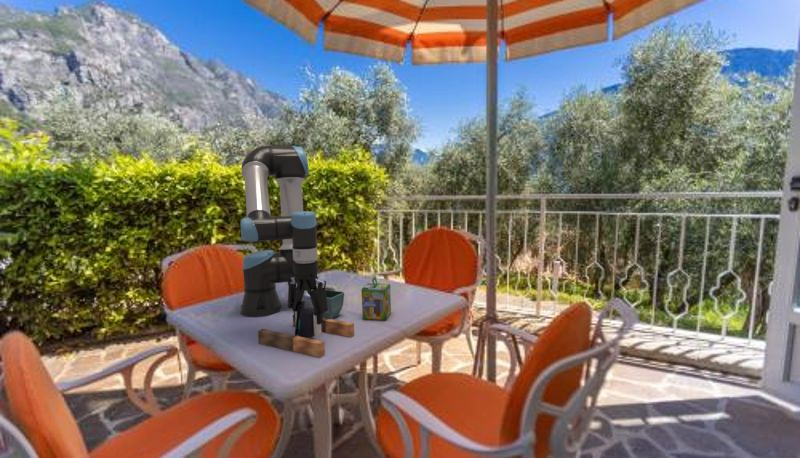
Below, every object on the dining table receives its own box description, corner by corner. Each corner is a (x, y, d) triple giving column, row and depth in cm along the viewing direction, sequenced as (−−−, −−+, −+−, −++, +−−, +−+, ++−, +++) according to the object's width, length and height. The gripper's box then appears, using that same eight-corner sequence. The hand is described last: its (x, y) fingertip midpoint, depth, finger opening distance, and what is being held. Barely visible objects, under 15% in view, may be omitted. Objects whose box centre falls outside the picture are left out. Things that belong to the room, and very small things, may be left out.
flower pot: (345, 314, 148) (345, 291, 147) (332, 322, 140) (331, 298, 139) (326, 311, 152) (325, 289, 151) (312, 319, 144) (311, 295, 143)
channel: (258, 343, 123) (257, 331, 122) (297, 324, 139) (296, 313, 138) (320, 357, 112) (320, 344, 112) (354, 334, 128) (354, 323, 128)
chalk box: (386, 321, 141) (385, 281, 139) (361, 319, 143) (360, 280, 141) (391, 312, 150) (391, 274, 148) (368, 311, 152) (367, 274, 150)
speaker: (288, 335, 124) (290, 304, 123) (300, 330, 129) (302, 300, 128) (307, 342, 121) (310, 309, 120) (319, 336, 126) (321, 305, 125)
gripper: (273, 260, 123) (276, 331, 126) (323, 265, 114) (326, 341, 117) (289, 256, 130) (292, 323, 133) (338, 261, 121) (340, 332, 124)
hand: (308, 331), depth 125 cm, fingers closed on speaker, 7 cm apart
